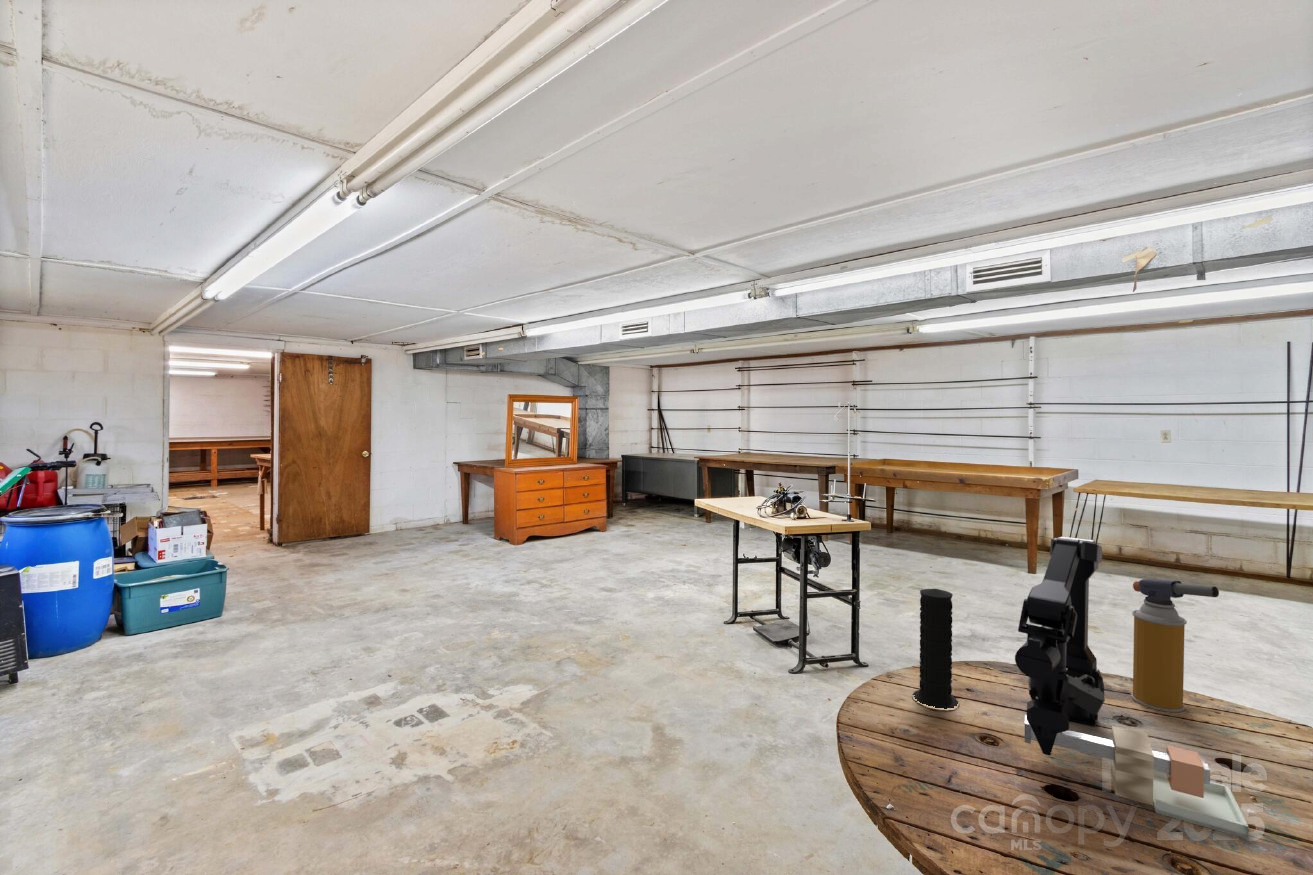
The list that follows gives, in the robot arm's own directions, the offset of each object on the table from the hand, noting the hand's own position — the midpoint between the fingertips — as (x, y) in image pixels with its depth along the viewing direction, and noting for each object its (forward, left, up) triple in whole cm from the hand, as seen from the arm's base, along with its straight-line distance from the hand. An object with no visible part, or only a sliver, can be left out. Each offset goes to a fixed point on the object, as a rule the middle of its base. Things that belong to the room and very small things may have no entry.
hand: (1046, 742), depth 109 cm
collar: (+19, 0, -1) cm, 20 cm away
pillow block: (+12, 0, -4) cm, 13 cm away
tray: (+20, 0, -4) cm, 21 cm away
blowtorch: (+23, +41, -4) cm, 47 cm away
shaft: (+9, 0, 0) cm, 10 cm away
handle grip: (-22, +16, -4) cm, 27 cm away
